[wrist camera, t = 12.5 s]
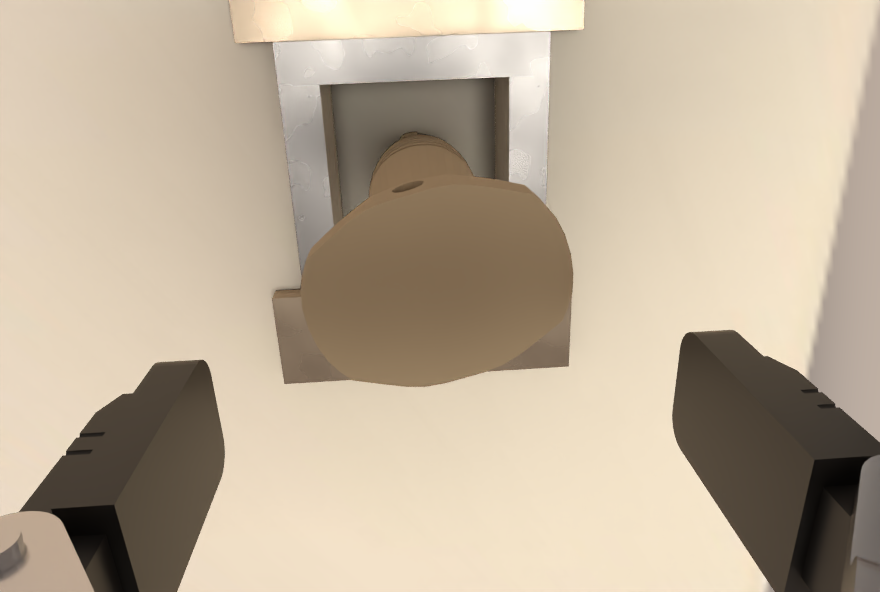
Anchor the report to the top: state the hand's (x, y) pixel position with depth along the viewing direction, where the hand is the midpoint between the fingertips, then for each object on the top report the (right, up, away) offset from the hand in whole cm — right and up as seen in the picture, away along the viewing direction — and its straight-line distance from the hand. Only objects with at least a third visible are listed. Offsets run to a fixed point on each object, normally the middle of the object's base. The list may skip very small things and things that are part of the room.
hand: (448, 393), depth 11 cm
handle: (-1, +7, +18) cm, 20 cm away
